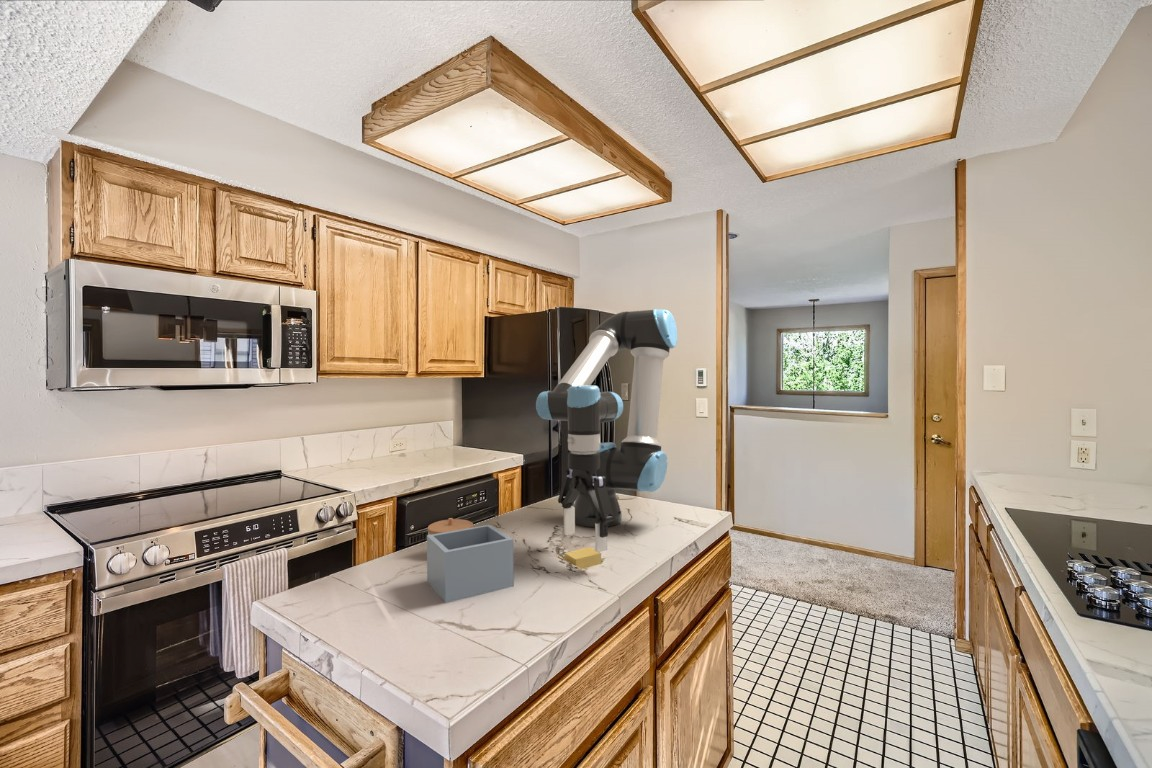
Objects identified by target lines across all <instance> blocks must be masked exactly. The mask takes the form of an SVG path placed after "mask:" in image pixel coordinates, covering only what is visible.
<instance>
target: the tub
mask: <svg viewBox="0 0 1152 768" xmlns="http://www.w3.org/2000/svg"><path fill="white" fill-rule="evenodd" d="M514 569H515V568H514V539H513V538H512V537H511V536H509V535H508V534H506V533H505V532H503V531H501V530H500V529H499V528H496V527H495V526H493V525H491V524H486V525H479V526H473V528H467V529H461V530H455V531H450V532H444V533H438V534H432V535H428V534H427V535H426V574H427V575H426V578H427V579H426V581H427V582H428V584H429V586H431V587H432V588H433V590H434V591H435V592H436V594H437V595H439V597H440V598H441V599H442V601H443V602H444V603H445V604H448V603H452V602H456V601H460V600H464V599H468V598H469V599H470V598H472V597H476V596H480V595H485V594H488V593H492V592H496V591H500V590H504V589H507V588H513V587H514V584H515V581H514V578H515V576H514V574H515V573H514V572H515V571H514Z"/></svg>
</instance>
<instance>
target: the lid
mask: <svg viewBox="0 0 1152 768" xmlns="http://www.w3.org/2000/svg"><path fill="white" fill-rule="evenodd" d="M563 554H564V555H563V557H564V558H563V557H562V556H560V555H558V554H556V556H557V557H558V558H561V559H562V560H564V561H565V562H568V563H570V564H571V565H572V566H574V567H576V568H578V569H579V570H581V571H584V572H585V570H583V569H587V568H591V567H593V566H598V565H601V564H602V552H601V551H600V552H596V551H595V549H594V548H592V547H589V546H588V547H583V548H579V549H575V550H571V551H567V552H564V553H563Z"/></svg>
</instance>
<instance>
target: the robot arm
mask: <svg viewBox="0 0 1152 768" xmlns="http://www.w3.org/2000/svg"><path fill="white" fill-rule="evenodd" d="M677 328H678V327H677V324H676V320H675V318H674V315H673V314H672V312H671V311H669V310H667V309H656V308H654V309H647V310H646V309H645V310H633V311H631V310H630V311H621V312H617V313H616V314H613V315H612V316H609V317H608V318H607V319H605V320H604V321H602V323H600V324H599V325H598V326H596V328H595V329H594V330H593V331H592V333H591V334H590V336H589V338H588V343H587V345H586V346H585V348H584V349H583V350H582V352H580V354H579V356H578V357H577V358H576V360H575V361H574V362H573V363H572V365H571V366H570V368H569V369H568V370H567V371H566V373H565V374H564V375H563V377H562V378H561V379H560V381H559V382H558V384H556V386H555V387H554V388H553V390H552V391H551V390H547V391H542V392H540V393H539V394H538V396H537V397H536V401H535V409H536V410H535V411H536V412H537V415H538V417H540V418H541V419H543V420H549V421H553V422H554V421H560V422H561V421H565V422H567V450H568V451H569V452H568V454H567V467H568V468H565V469H564V475H563V479H562V480H563V481H562V484H561V489H560V491H559V496H558V498H557V501H558V504H561V507H562V508H563V535H564V536H566V537H567V536H571V535H575V534H576V525H578V526H581V527H586V528H587V527H588V528H590V527H591V528H594V529H595V530H594V533H595V534H594V535H595V536H594V538H595V539H594V541H595V543H594V544H595V545H594V548H595V549H594V550H595V551H596V552H600V553H601V552H604V551H605V552H606V551H607V550H608V535H609V527H613V526H616V525H619V524H621V522H622V520H623V519H622V510H621V507H620V503H619V501H618V498H617V491H616V490H617V489H618V490H619V489H621V490H627V491H637V492H641V493H644V492H645V493H647V492H648V493H654V492H656V491H658V490H659V489H660V488H661V486H662V485H663V483H664V481H665V479H666V474H667V472H668V471H667V470H668V456H667V454H666V452H664V450H662V445H661V443H660V442H659V440H658V438H657V437H658V431H659V430H658V428H659V427H658V426H659V417H660V406H661V405H660V404H661V394H662V393H661V392H662V383H663V382H662V380H663V370H664V369H663V368H664V360H666V359H667V358H668V357H669V356H670V350H671V349H674V348H676V346H677V343H678V330H677ZM621 350H630V354H631V356H632V357H634V362H633V363H634V364H633V371H632V384H631V394H630V403H629V404H630V405H629V412H628V413H629V415H628V424H627V434H626V437H625V438H624V439H622V441H621V442H620V443H621V444H620V448H618V447H617V444H616V443H615V442H601V424H603V423H611V422H612V421H613V422H614V421H616V420H617V419H618V418H620V417H621V415H622V414H623V412H624V402H623V399H622V398H621V397H620V395H619V394H617V393H616V392H614V391H600V390H601V389H600V388H599V386H598V385H592V384H593V382H594V381H595V380H596V378H597V376H598V375H599V373H600V372H601V370H602V369H603V367H604V366H605V364H606V363H607V362H608V360H609V359H610V358H611V357H614V356H615V355H616V354H617V353H618V352H619V351H621Z"/></svg>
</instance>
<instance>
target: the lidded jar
mask: <svg viewBox="0 0 1152 768" xmlns="http://www.w3.org/2000/svg"><path fill="white" fill-rule="evenodd" d="M473 527H474V523H473V522H472V521H471V520H467V519H459V518H453V517H449V518H448V519H442V520H439V521H435V522H433V523H431V524H429V525H428V527H427V535H432V534H438V533H444V532H450V531H455V530H461V529H467V528H473Z"/></svg>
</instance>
